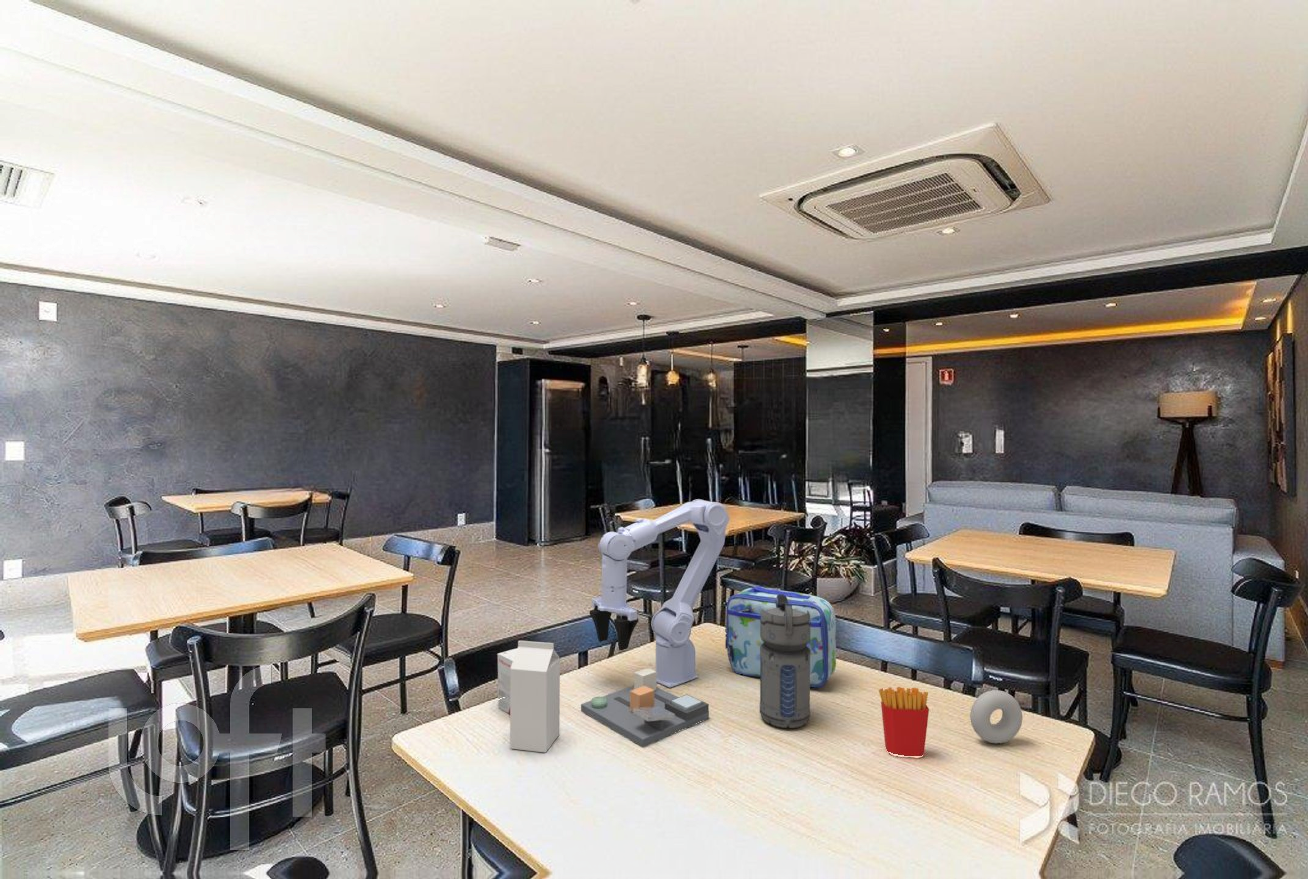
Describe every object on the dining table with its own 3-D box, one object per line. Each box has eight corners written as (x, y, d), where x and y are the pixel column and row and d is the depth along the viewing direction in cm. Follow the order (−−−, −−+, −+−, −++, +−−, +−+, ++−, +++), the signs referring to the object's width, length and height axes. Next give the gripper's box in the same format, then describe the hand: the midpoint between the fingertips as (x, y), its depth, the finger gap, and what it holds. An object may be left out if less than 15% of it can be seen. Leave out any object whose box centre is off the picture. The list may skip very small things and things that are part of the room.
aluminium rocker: (658, 711, 123) (659, 706, 123) (673, 719, 119) (674, 713, 120) (632, 713, 118) (633, 707, 118) (647, 721, 115) (648, 715, 115)
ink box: (539, 714, 127) (539, 657, 127) (518, 721, 124) (518, 663, 124) (517, 700, 134) (517, 647, 134) (496, 707, 130) (496, 652, 130)
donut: (977, 748, 114) (977, 695, 114) (965, 739, 117) (966, 687, 117) (1026, 746, 115) (1027, 693, 115) (1014, 737, 119) (1014, 685, 118)
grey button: (686, 702, 129) (686, 694, 129) (701, 709, 125) (701, 701, 125) (671, 708, 126) (671, 700, 126) (686, 715, 122) (686, 707, 122)
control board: (645, 688, 141) (645, 674, 141) (709, 718, 126) (709, 703, 126) (581, 711, 129) (581, 696, 129) (643, 747, 114) (643, 730, 114)
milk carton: (546, 753, 111) (546, 649, 111) (509, 749, 113) (510, 647, 113) (559, 735, 118) (560, 637, 118) (525, 731, 120) (525, 634, 120)
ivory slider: (647, 685, 138) (647, 667, 138) (656, 689, 135) (656, 671, 135) (634, 690, 135) (634, 672, 135) (642, 694, 133) (643, 676, 133)
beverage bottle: (803, 704, 132) (803, 589, 132) (814, 734, 119) (815, 606, 119) (756, 702, 133) (756, 588, 133) (762, 732, 120) (763, 605, 120)
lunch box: (720, 672, 150) (720, 587, 150) (738, 659, 159) (738, 579, 159) (825, 697, 136) (826, 603, 136) (838, 680, 146) (839, 593, 146)
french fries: (923, 748, 114) (924, 684, 114) (930, 759, 110) (931, 693, 110) (876, 745, 115) (877, 682, 115) (881, 756, 111) (882, 690, 111)
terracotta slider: (644, 704, 128) (644, 685, 128) (654, 709, 126) (654, 690, 126) (630, 710, 125) (630, 690, 125) (639, 715, 123) (639, 695, 123)
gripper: (581, 581, 142) (580, 640, 142) (620, 594, 131) (618, 657, 131) (605, 577, 147) (604, 634, 147) (644, 589, 136) (643, 650, 136)
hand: (612, 644), depth 139 cm, fingers open, 7 cm apart
